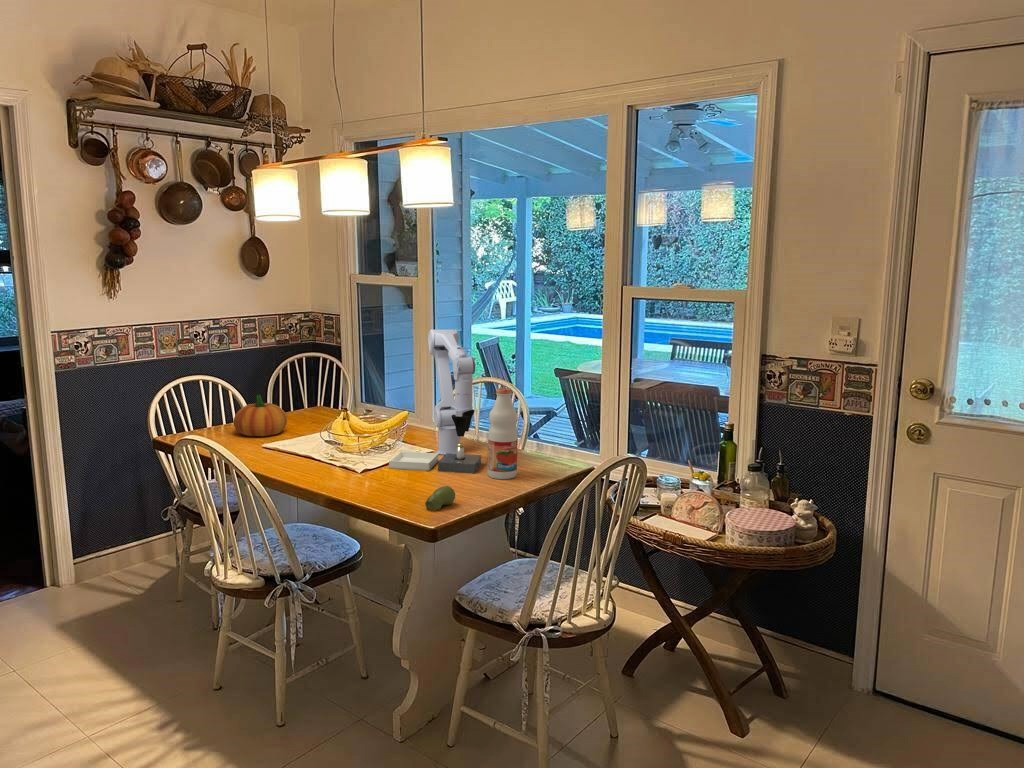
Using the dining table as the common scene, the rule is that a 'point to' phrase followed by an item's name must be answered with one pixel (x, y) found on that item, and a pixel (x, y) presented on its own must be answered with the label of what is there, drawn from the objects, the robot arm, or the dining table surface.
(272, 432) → the pumpkin
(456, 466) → the block
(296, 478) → the dining table surface
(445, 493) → the pear
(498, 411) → the fruit juice
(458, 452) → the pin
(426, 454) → the tray
